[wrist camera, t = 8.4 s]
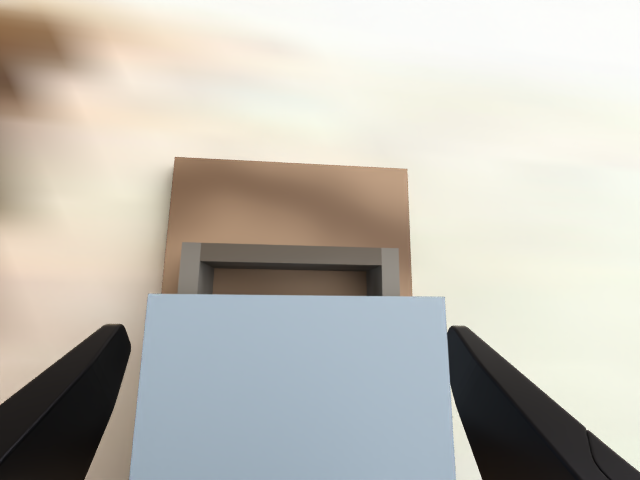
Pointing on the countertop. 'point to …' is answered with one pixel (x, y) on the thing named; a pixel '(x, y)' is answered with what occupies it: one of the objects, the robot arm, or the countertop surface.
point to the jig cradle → (287, 229)
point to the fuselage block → (293, 389)
